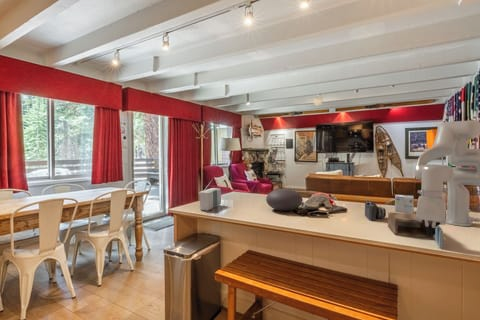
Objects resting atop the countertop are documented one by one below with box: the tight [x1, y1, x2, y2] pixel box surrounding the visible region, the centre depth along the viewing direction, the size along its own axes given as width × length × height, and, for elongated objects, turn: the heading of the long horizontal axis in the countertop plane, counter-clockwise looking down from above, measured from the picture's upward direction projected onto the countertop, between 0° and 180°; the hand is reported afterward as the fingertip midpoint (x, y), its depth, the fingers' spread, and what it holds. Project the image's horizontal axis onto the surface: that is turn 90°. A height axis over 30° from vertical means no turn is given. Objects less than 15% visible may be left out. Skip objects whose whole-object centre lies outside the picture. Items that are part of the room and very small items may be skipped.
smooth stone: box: [265, 188, 304, 212], centre depth 183 cm, size 25×25×15 cm
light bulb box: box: [394, 194, 415, 214], centre depth 177 cm, size 11×7×11 cm, turn 58°
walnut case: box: [387, 212, 434, 239], centre depth 134 cm, size 16×14×8 cm
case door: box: [433, 225, 447, 249], centre depth 117 cm, size 15×2×7 cm, turn 151°
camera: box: [364, 200, 387, 222], centre depth 161 cm, size 14×11×10 cm
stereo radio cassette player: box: [198, 178, 222, 212], centre depth 192 cm, size 21×8×20 cm, turn 159°
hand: (430, 235), depth 116 cm, fingers closed
